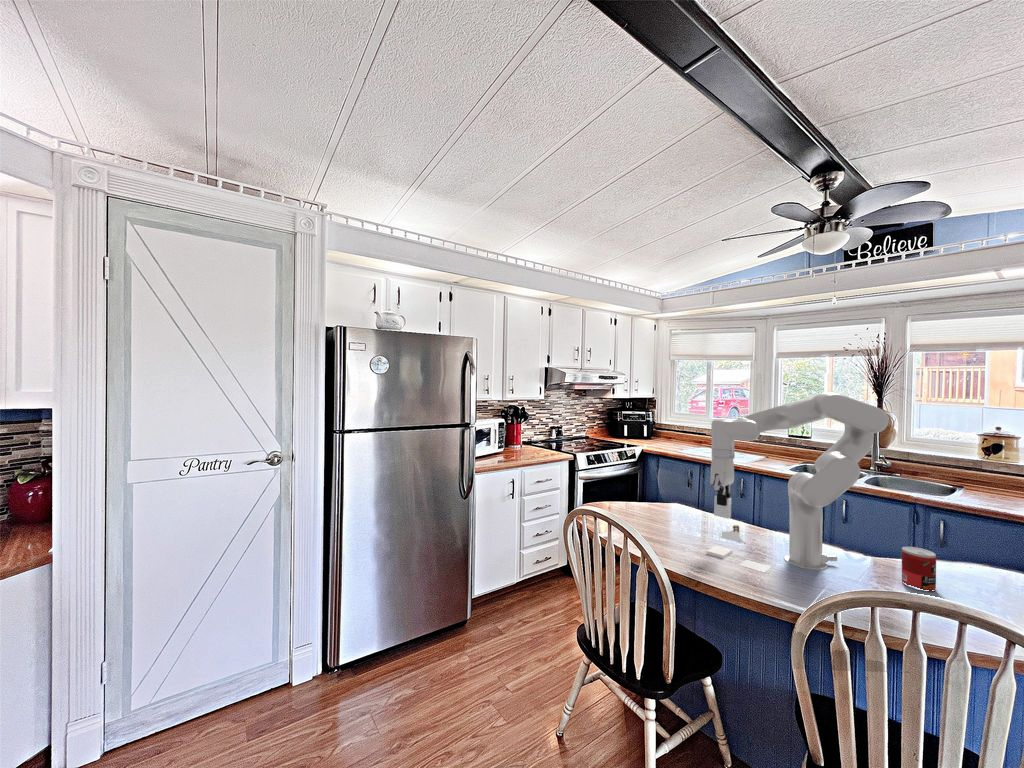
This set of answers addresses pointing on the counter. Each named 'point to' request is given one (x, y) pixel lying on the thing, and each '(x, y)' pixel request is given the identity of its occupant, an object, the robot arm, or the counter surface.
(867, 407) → the robot arm
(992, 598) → the counter surface
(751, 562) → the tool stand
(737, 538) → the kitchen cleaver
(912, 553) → the canned food
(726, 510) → the steel turner
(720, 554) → the tile
